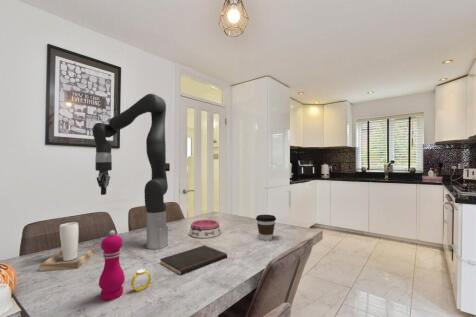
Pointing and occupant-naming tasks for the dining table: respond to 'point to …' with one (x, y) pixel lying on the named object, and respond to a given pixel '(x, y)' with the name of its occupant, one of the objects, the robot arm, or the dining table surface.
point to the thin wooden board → (51, 264)
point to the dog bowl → (204, 229)
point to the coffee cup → (266, 226)
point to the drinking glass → (69, 240)
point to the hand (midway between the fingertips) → (103, 194)
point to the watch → (140, 274)
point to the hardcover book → (193, 259)
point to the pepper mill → (111, 268)
